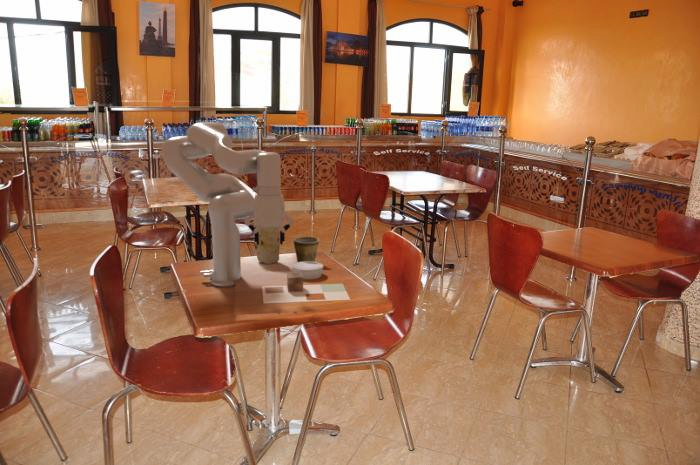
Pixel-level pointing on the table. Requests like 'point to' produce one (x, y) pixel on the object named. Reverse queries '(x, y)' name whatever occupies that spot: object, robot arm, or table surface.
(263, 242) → the food model
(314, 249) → the ceramic cup
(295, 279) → the walnut block
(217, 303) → the table surface
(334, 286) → the trap deck
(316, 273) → the ramekin
